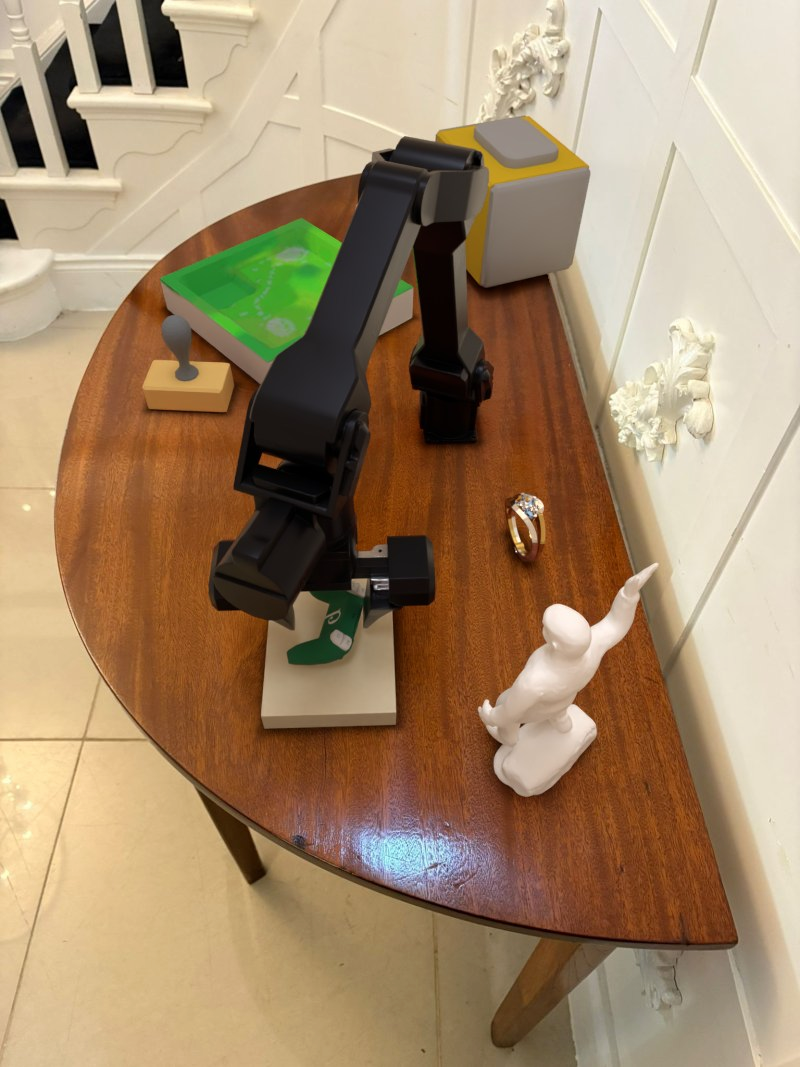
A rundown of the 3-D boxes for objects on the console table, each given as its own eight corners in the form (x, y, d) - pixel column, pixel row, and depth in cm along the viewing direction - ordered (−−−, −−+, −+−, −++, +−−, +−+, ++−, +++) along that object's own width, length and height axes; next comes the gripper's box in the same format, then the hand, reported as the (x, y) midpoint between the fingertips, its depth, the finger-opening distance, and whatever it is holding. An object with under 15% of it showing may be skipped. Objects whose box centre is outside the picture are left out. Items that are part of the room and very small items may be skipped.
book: (390, 581, 81) (390, 567, 79) (396, 725, 71) (396, 712, 69) (275, 584, 81) (272, 570, 79) (264, 728, 70) (260, 716, 68)
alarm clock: (575, 280, 118) (600, 157, 104) (481, 302, 114) (495, 178, 100) (514, 219, 129) (530, 101, 115) (428, 237, 125) (433, 117, 111)
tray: (412, 317, 111) (413, 286, 107) (271, 393, 100) (267, 362, 96) (304, 247, 123) (301, 217, 119) (167, 309, 112) (159, 278, 108)
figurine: (570, 693, 73) (636, 521, 54) (612, 774, 68) (701, 615, 49) (452, 730, 71) (476, 562, 51) (487, 816, 66) (528, 666, 46)
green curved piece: (310, 681, 72) (354, 666, 68) (279, 660, 70) (322, 645, 66) (335, 600, 77) (377, 583, 74) (307, 580, 76) (349, 561, 72)
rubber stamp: (234, 384, 101) (219, 304, 92) (226, 414, 98) (209, 334, 88) (159, 381, 101) (136, 301, 92) (148, 410, 98) (123, 330, 88)
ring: (543, 572, 82) (556, 523, 76) (515, 578, 82) (525, 529, 76) (521, 524, 87) (531, 474, 80) (493, 529, 86) (502, 479, 80)
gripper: (430, 441, 66) (424, 554, 78) (209, 445, 65) (237, 559, 77) (440, 544, 59) (431, 650, 71) (191, 549, 58) (225, 656, 70)
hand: (329, 624), depth 72 cm, fingers closed on green curved piece, 6 cm apart
